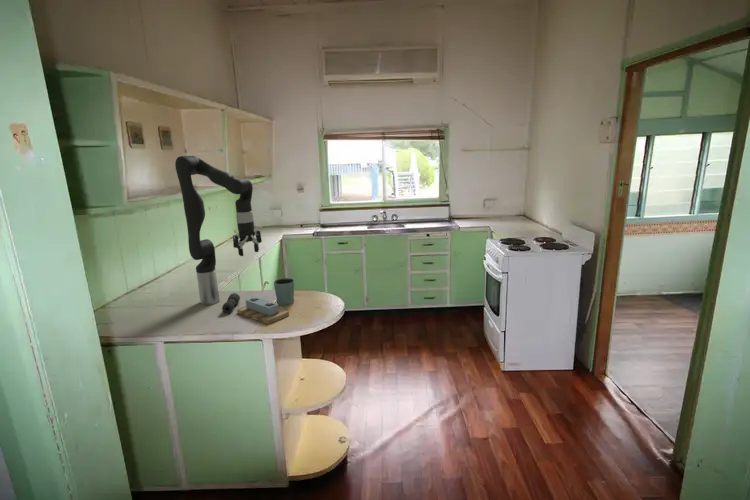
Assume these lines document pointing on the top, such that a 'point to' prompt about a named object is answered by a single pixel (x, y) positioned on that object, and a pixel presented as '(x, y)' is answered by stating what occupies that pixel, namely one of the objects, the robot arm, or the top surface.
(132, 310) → the top surface
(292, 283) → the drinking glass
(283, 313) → the mount board
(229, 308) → the flashlight
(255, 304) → the blue-grey block with holes
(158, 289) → the top surface
